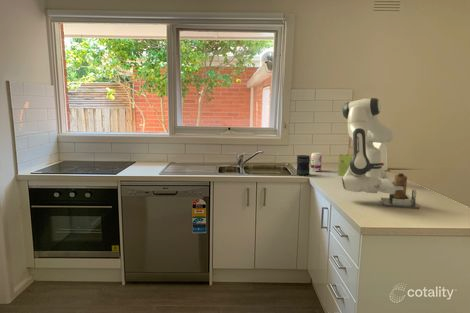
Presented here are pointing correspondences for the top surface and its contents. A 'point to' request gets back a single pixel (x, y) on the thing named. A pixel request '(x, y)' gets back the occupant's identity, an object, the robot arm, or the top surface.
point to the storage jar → (303, 165)
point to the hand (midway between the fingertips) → (401, 186)
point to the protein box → (344, 163)
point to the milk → (382, 153)
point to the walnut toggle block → (400, 181)
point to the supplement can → (316, 161)
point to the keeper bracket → (401, 201)
